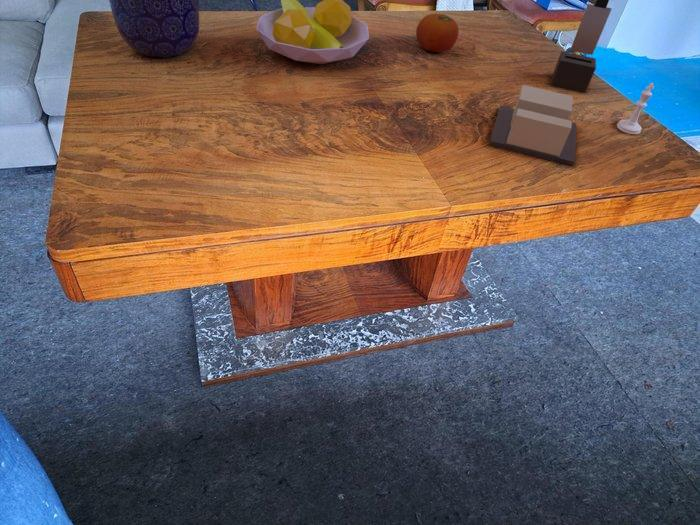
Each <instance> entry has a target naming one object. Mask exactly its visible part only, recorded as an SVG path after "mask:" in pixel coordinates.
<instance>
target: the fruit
mask: <svg viewBox="0 0 700 525" xmlns="http://www.w3.org/2000/svg"><path fill="white" fill-rule="evenodd" d="M415 33H416V34H415V36H416V40H417V43H418V44H419V46H420V47H421V48H423V49H424V50H426V51H429V52H434V53H443V52H447V51H450V50H451V49H452V48H453V47H454V45H455V44H456V43H457V41H458V37H459V26H458V23H457V21H456V20H455V19H453V18H452V17H451V16H449V15H446V14H444V13H435V12H434V13H430V14H427V15H425V16H424V17H422V19H421V20H420V21H419V22H418V24H417V27H416V30H415Z"/></svg>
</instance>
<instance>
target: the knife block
mask: <svg viewBox="0 0 700 525" xmlns="http://www.w3.org/2000/svg"><path fill="white" fill-rule="evenodd" d="M559 53H560V54H559V56H558V59H557V61H556V64H555V67H554V70H553V72H552V75H551V81H550V82H551V83H550V85H551V86H553V87H558V88H562V89H567V90H572V91H574V92H581V93H584V94H585V93H586V92H587V89H588V87H589V85H590V83H591V81H592V78H593V76H594V73H595V72H596V68H597V62H596V61H597V58H595V57H591V56H586V55H581V54H578V53H572V52H567V51H563V50H561V51H560V52H559Z"/></svg>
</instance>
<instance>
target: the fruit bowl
mask: <svg viewBox="0 0 700 525" xmlns="http://www.w3.org/2000/svg"><path fill="white" fill-rule="evenodd" d="M280 3H281V8H279V9H275V10H273V11H270V12H267V13H264V14H261V15H259V17H258V20H257V24H256V28H255V30H256V32H257V33H258V34H259V36H260V38H261V39H262V41H263V43H264V44H265V45H266V47H267V49H268V50H270V51H273V52H275V53H277V54H280V55H282V56H284V57H286V58H289V59H291V60H293V61H295V62H296V61H297V62H303V63H310V64H317V65H324V64H328V63H334V62H337V61H343V60H346V59H351V58H354V56H356V54H358V52H359V51H360V49H361V48H362V47H363V46H364V45H365V44H366V43H367V41H369V39H370V34H369V33H370V32H369V25H368V24H367V23H365V22H363V21H361V20H360V19H358V18H356V17H354V16H352V10H351V9H352V8H351V6H350V5H349V4H347V2H345V1H344V0H322V1H320V2H318V3H317V4H316V5H315V6H307V7H306V6H305V7H304V6H303V5H302V4H301V3H300V2H299V1H298V0H280Z"/></svg>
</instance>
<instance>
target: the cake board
mask: <svg viewBox="0 0 700 525" xmlns="http://www.w3.org/2000/svg"><path fill="white" fill-rule="evenodd" d="M514 109H515V108H513V107H508V106H504V105H499V108H498V112H497V115H496V119H495V122H494V125H493V128H492V133H491V136H490V138H489V143H488V146H490V147H495V148H497V149H498V148H499V149H503V150H506V151H510V152H514V153H519V154H521V155H526V156H530V157H534V158H539V159H542V160H546V161H550V162H553V163H557V164H561V165H566V166H569V167H574V164H575V162H576V142H577V140H576V139H577V123H576V122H572V125H571V130H570V133H569V135H568V137H567V140H566V142H565V144H564V146H563V149H562V151H561V153H560V156H555V155H551V154H547V153H543V152H539V151H535V150H531V149H527V148H523V147H519V146H515V145H511V144H507V139H508V135H509V132H510V129H511V127H510V125H511V121H512V116H513V112H514Z"/></svg>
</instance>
